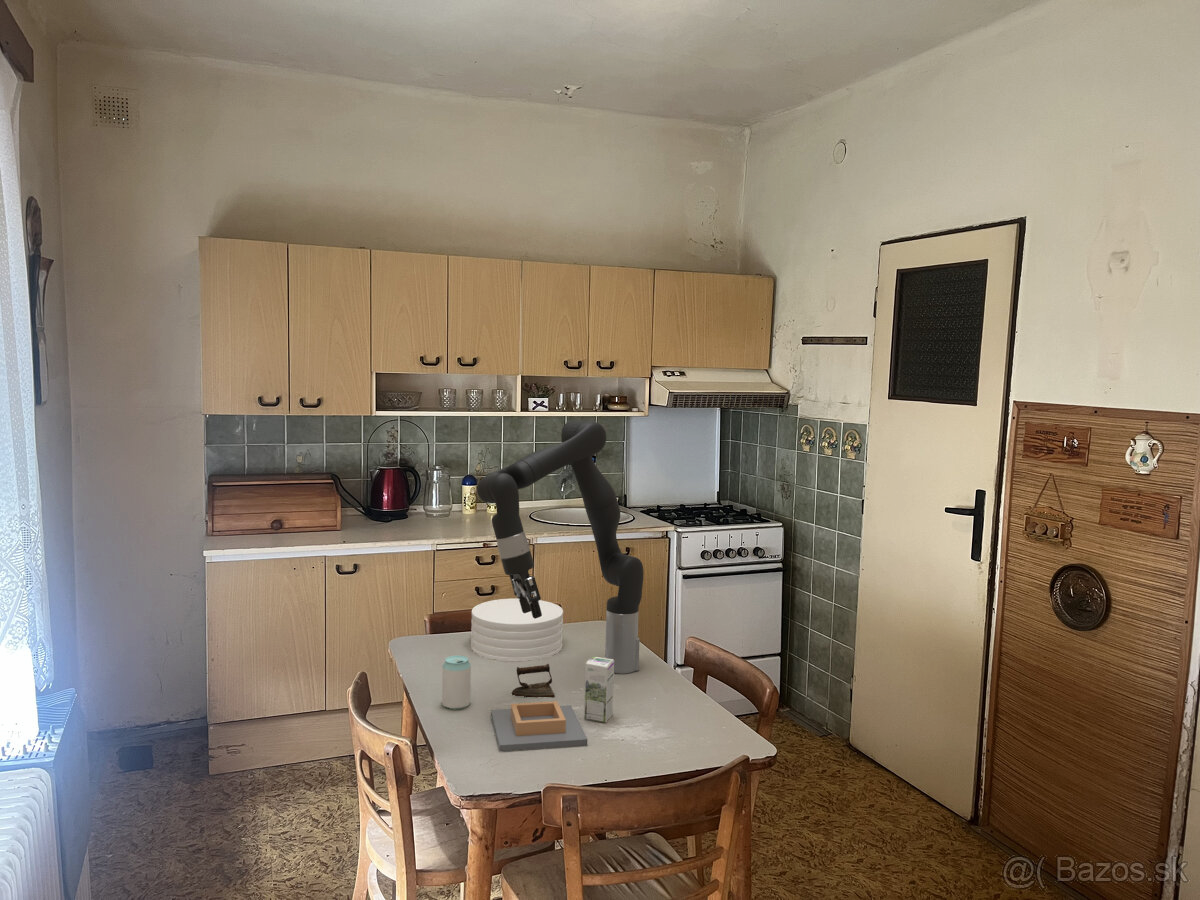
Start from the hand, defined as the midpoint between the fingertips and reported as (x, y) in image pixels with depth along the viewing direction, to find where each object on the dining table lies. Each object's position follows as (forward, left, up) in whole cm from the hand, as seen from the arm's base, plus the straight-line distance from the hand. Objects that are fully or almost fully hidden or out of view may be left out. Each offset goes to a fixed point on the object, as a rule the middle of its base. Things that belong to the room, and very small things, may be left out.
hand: (532, 614), depth 209 cm
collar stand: (0, +12, -25) cm, 27 cm away
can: (+18, -6, -25) cm, 31 cm away
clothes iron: (-2, -11, -25) cm, 27 cm away
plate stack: (-3, -50, -25) cm, 56 cm away
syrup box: (-16, +7, -25) cm, 30 cm away
